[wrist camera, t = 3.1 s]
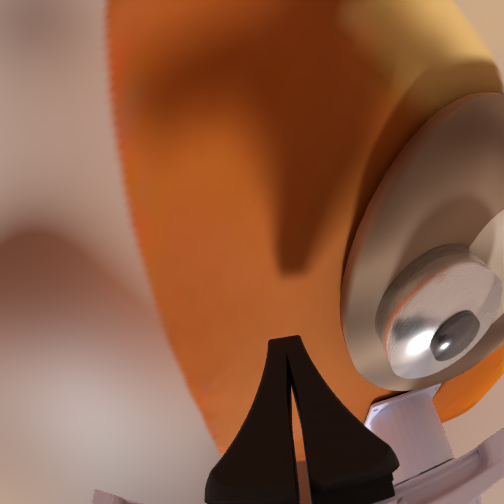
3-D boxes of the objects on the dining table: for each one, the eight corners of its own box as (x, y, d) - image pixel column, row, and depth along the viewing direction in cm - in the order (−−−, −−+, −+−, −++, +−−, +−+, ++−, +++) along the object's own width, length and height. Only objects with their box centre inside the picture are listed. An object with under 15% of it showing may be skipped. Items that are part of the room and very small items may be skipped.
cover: (459, 329, 13) (479, 362, 11) (367, 359, 14) (382, 400, 11) (489, 234, 10) (524, 264, 7) (382, 257, 11) (414, 301, 8)
